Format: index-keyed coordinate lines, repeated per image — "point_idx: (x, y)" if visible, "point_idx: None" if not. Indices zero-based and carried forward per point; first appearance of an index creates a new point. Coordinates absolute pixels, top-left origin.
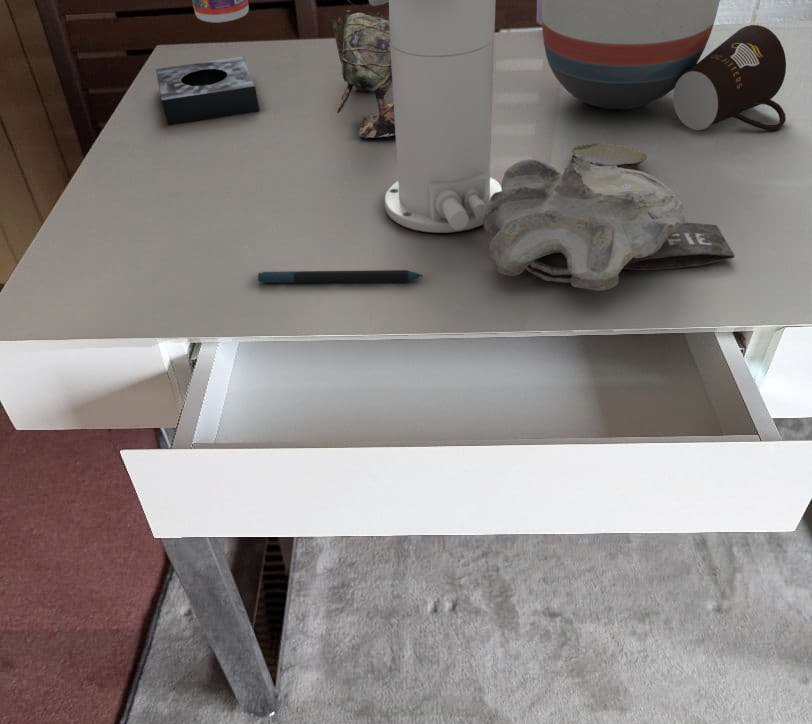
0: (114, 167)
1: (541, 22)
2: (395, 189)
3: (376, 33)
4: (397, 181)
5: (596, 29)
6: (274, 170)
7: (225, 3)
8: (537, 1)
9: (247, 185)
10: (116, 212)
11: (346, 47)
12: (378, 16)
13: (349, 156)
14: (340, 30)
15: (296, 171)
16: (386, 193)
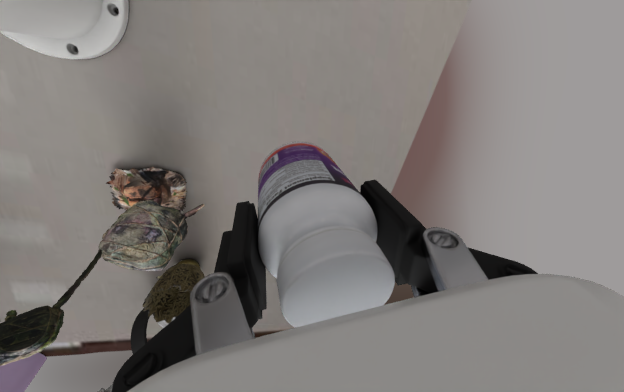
0: (382, 170)
1: (37, 354)
2: (112, 15)
3: (121, 239)
4: (113, 37)
5: None
6: (261, 133)
7: (292, 148)
8: (33, 374)
9: (285, 108)
10: (392, 88)
11: (167, 231)
12: (160, 318)
13: (191, 144)
14: None
15: (241, 125)
16: (122, 5)
